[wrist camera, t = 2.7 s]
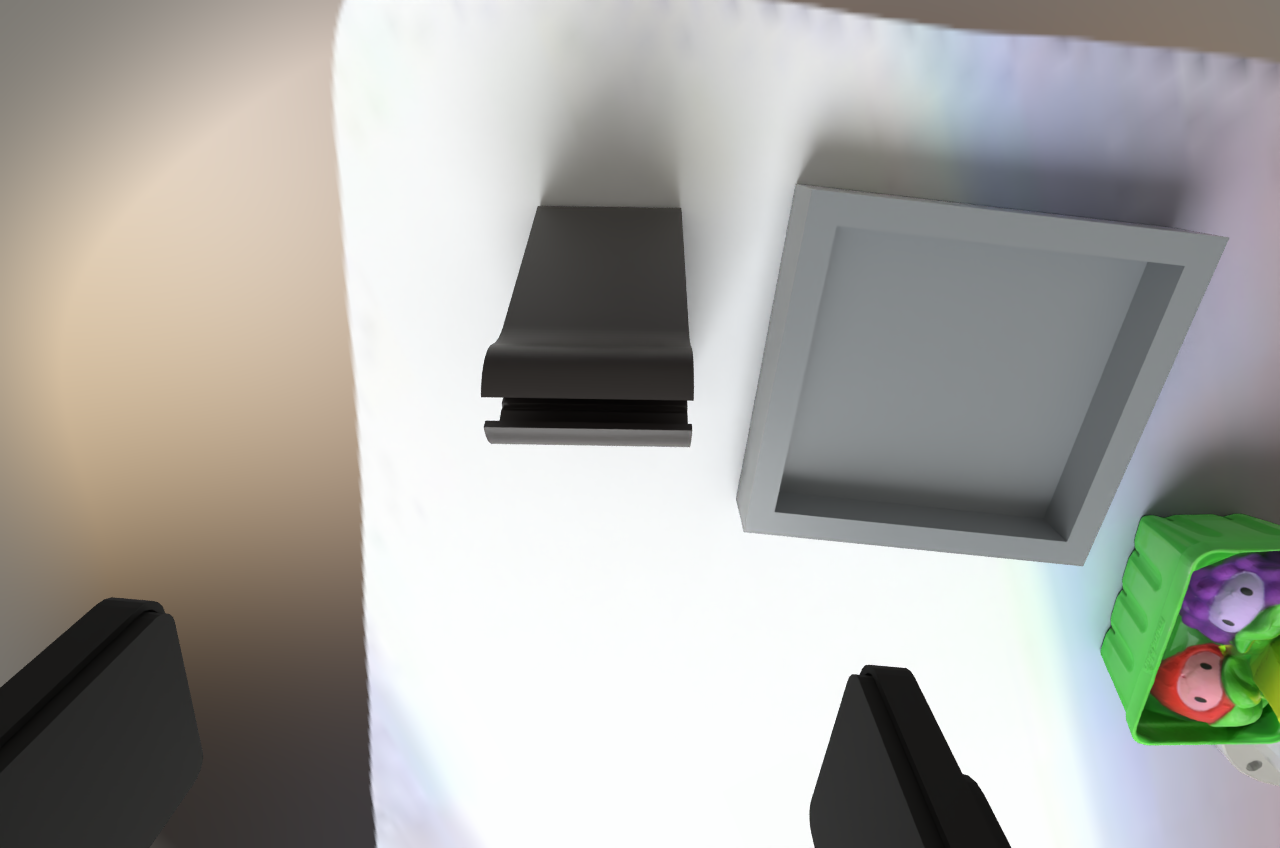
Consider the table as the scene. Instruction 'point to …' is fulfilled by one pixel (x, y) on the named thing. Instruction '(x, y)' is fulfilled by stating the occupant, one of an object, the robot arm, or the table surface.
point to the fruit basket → (1199, 631)
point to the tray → (961, 372)
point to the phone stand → (596, 333)
